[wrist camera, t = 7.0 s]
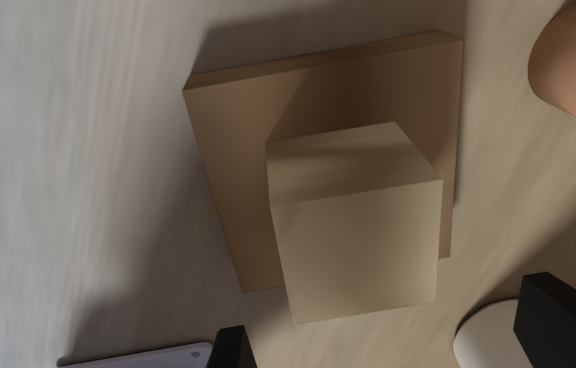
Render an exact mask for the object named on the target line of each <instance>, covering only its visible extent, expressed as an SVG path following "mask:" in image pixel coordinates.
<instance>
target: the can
mask: <svg viewBox="0 0 576 368" xmlns="http://www.w3.org/2000/svg"><path fill="white" fill-rule="evenodd" d="M518 300H519V298H511V299H505V300H500V301H496V302H493V303H490V304H488V305H486V306H484V307H482V308H480V309H479V310H477V311H476V312H474V313H473V314H472V315H471V316H469V317H468V318H467V319H466V320H465V321H464V322H463V323H462V325H461V326H460V328H459V329H458V331H457V334H456V337H455V340H454V346H453V349H454V353H455V356H456V358H457V360H458V363H459V365H460V367H461V368H533V367H532V365H531V363H530V361H529V359H528V358H527V356H526V354H525V352H524V350H523V348H522V346H521V345H520V343H519V341H518V339H517V337H516V335H515V333H514V331H513V326H514V321H515V315H516V310H517V305H518Z"/></svg>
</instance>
